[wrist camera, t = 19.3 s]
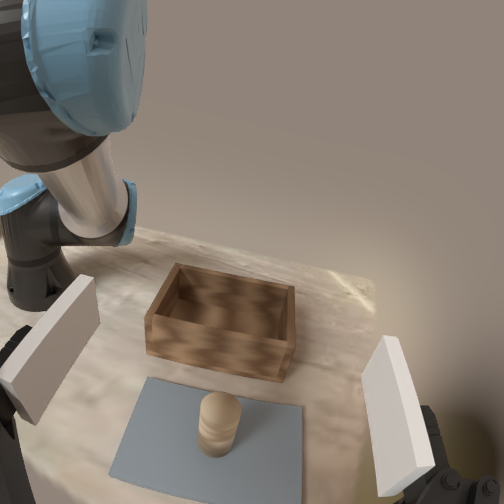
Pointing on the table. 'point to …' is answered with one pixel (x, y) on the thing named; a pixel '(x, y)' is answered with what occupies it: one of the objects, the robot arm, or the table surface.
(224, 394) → the lid
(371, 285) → the table surface
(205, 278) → the brown wooden open box
